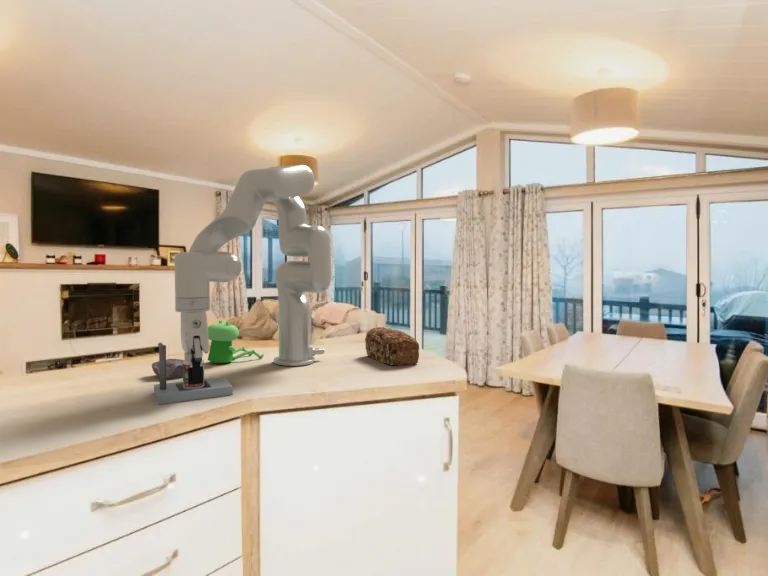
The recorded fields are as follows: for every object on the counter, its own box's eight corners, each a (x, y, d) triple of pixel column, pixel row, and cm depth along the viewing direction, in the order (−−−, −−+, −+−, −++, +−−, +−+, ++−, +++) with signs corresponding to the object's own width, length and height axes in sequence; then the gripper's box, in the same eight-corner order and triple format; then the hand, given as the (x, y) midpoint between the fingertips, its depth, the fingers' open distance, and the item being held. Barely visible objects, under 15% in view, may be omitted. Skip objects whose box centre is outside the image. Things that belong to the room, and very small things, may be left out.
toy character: (265, 362, 151) (268, 322, 151) (212, 366, 138) (215, 322, 138) (249, 357, 157) (252, 319, 157) (197, 361, 144) (200, 319, 144)
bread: (364, 356, 158) (364, 326, 158) (391, 353, 163) (392, 325, 163) (390, 367, 142) (391, 335, 141) (420, 364, 147) (421, 333, 146)
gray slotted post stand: (223, 384, 120) (222, 337, 119) (232, 394, 111) (232, 344, 110) (153, 392, 112) (153, 342, 111) (158, 404, 103) (157, 350, 102)
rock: (202, 375, 129) (202, 359, 129) (158, 382, 122) (157, 365, 121) (193, 370, 135) (192, 354, 135) (150, 376, 128) (149, 359, 128)
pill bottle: (183, 390, 108) (182, 354, 108) (182, 385, 112) (182, 350, 112) (205, 388, 110) (204, 353, 109) (204, 383, 114) (203, 349, 114)
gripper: (216, 307, 105) (217, 387, 106) (203, 301, 119) (204, 371, 120) (180, 309, 101) (181, 392, 102) (170, 302, 115) (172, 375, 116)
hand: (193, 380), depth 111 cm, fingers closed on pill bottle, 4 cm apart
